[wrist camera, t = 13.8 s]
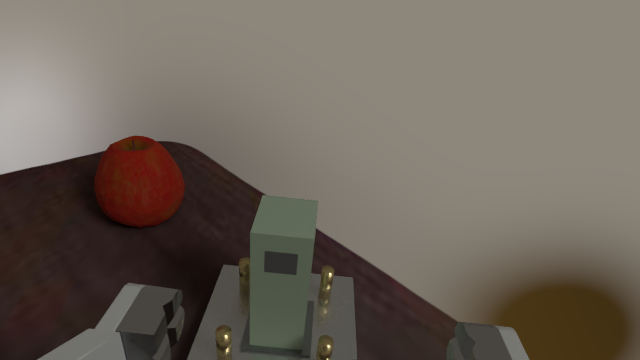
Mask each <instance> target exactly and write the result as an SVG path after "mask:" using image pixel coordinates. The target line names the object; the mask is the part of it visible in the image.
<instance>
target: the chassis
mask: <svg viewBox="0 0 640 360" xmlns="http://www.w3.org/2000/svg"><path fill="white" fill-rule="evenodd" d="M187 360H357V349H356V329H355V310H354V290H353V278H351V277H341V276H334V268H333V267H331V266H324V267H323V268H322V273H321V274H311V276H310V285H309V294H308V302H307V311H306V320H305V329H304V338H303V347H302V350H296V349H286V348H276V347H266V346H255V345H250V258H247V257H244V258H241V259H240V260H239V266H232V265H223V268H222V270H221V273H220V275H219V278H218V281H217V283H216V286H215V288H214V291H213V293H212V296H211V299H210V301H209V304H208V306H207V309H206V312H205V314H204V317H203V319H202V322H201V325H200V327H199V330H198V332H197V335H196V337H195V340H194V343H193V345H192V348H191V350H190V353H189V356H188V358H187Z"/></svg>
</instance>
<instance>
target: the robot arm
mask: <svg viewBox="0 0 640 360" xmlns="http://www.w3.org/2000/svg"><path fill="white" fill-rule="evenodd" d="M182 299H183V296H182V291H181V290H177V289H170V288H163V287H156V286H149V285H141V284H133V283H128V284H127V285H125V286H124V287H123V288H122V290H121V291H120V293H119V294H118V295H117V297H116V298H115V300H114V301H113V303H112V304H111V306H110V307H109V308H108V310H107V311H106V313H105V314H104V316H103V317H102V319H101V320H100V321H99V323H98V324H97V326H96V327H95V329H87V330H86V331H84V332H83V333H81V334H79V335H78V336H76V337H74V338H73V339H71V340H69V341H68V342H66V343H64V344H63V345H61V346H59V347H58V348H56V349H54V350H53V351H51V352H49V353H48V354H46V355H44V356H43V357H41V358H39V359H38V360H170V358H171V351H170V348H171V347H172V346H173V345H175V344H176V343H177V342H178V340H179V338H180V335H181V333H182V329H183V325H184V316H185V315H184V309H183V308H182V307H181V306H180V304H181V302H182ZM454 331H455V334H456V337H455V338H453V339H451V340H450V342H449V344H448V347H447V356H446V359H447V360H529V358H528V356H527V354H526V352H525V350H524V348H523V346H522V344H521V342H520V340H519V338H518V336H517V334H516V332H515V330H514V329H513V328H510V327H501V326H493V325H485V324H476V323H466V322H459V323H458V324H457V325H456V327H455V330H454Z"/></svg>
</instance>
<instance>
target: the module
mask: <svg viewBox="0 0 640 360" xmlns="http://www.w3.org/2000/svg"><path fill="white" fill-rule="evenodd" d="M317 205H318V201H314V200H304V199H295V198H285V197H275V196H266V195H263V196H262V199H261V202H260V205H259V208H258V211H257V214H256V217H255V220H254V223H253V226H252V229H251V232H250V345H255V346H266V347H276V348H286V349H296V350H302V347H303V338H304V329H305V320H306V311H307V302H308V294H309V285H310V276H311V267H312V258H313V249H314V240H315V229H316V218H317Z"/></svg>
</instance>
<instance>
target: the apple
mask: <svg viewBox="0 0 640 360" xmlns="http://www.w3.org/2000/svg"><path fill="white" fill-rule="evenodd" d="M94 188H95V193H96V198H97V203H98V204H99V206H100V207H101V209H102V210H103V212H104V213H105V215H107V216H108V217H109V218H110V219H112V220H113V221H115V222H118V223H121V224H124V225H128V226H133V227H138V228H142V227H150V226H156V225H158V224H160V223H162V222H164V221H167V220H169V219H170V218H171V217H172V216H173V215H174V214H175V213H176V211H177V209H178V208H179V206H180V204H181V202H182V200H183V197H184V191H185V183H184V180H183V177H182V173H181V171H180V169H179V167H178V166H177V164H176V162H175V161H174V159H173V158H172V157H171V155H170V154H169V153H168V151H167V150H166V149H165V148H164V147H163V146H162V145H161V144H160V143H158V142H156V141H154V140H153V139H150V138H147V137H144V136H132V137H128V138H125V139H122V140H120V141H118V142H115V143H113V144H111V145H110V146H109V147H108V149H107V150H106V151H105V152H104V154H103V155H102V158H101V160H100V162H99V165H98V168H97V171H96V174H95V179H94Z"/></svg>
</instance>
